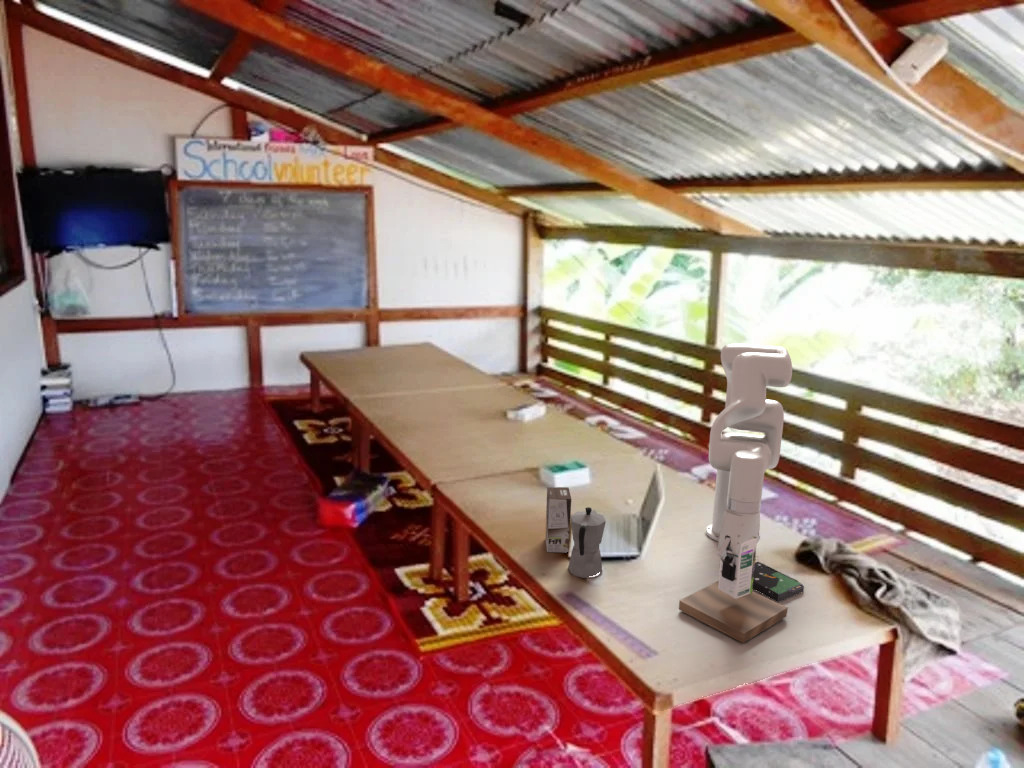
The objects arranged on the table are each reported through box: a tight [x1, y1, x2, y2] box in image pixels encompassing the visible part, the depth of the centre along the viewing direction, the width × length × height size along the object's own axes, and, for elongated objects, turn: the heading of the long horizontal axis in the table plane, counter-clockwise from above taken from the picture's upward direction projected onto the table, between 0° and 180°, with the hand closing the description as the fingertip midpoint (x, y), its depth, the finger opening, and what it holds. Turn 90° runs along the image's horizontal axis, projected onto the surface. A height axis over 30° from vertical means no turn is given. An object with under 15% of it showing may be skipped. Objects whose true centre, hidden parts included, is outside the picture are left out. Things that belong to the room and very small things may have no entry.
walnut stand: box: [678, 580, 789, 644], centre depth 186 cm, size 18×18×3 cm
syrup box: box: [718, 537, 758, 599], centre depth 183 cm, size 6×6×14 cm
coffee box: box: [545, 486, 573, 554], centre depth 218 cm, size 9×6×16 cm
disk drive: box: [752, 561, 805, 603], centre depth 201 cm, size 10×3×15 cm
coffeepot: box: [567, 506, 606, 579], centre depth 203 cm, size 15×9×18 cm, turn 163°
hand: (736, 573), depth 183 cm, fingers closed on syrup box, 6 cm apart
